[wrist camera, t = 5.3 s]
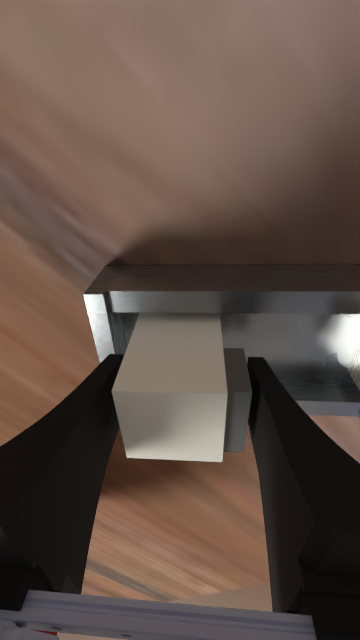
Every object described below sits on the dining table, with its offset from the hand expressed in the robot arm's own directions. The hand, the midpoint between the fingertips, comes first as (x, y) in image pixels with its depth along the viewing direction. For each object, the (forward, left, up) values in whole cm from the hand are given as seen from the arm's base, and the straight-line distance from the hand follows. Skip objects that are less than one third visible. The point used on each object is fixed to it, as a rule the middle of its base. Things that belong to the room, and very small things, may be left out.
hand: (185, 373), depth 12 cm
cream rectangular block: (0, 0, -2) cm, 2 cm away
